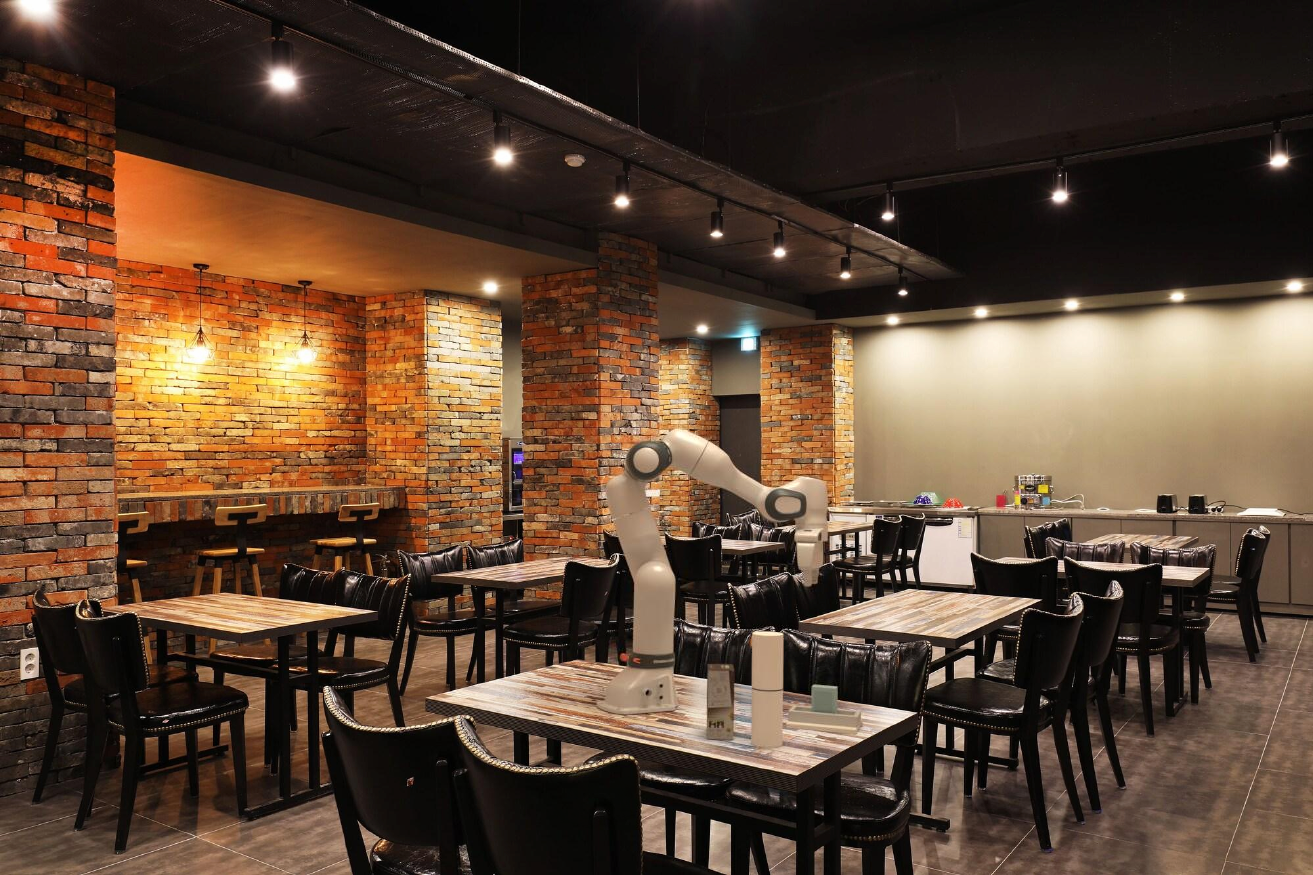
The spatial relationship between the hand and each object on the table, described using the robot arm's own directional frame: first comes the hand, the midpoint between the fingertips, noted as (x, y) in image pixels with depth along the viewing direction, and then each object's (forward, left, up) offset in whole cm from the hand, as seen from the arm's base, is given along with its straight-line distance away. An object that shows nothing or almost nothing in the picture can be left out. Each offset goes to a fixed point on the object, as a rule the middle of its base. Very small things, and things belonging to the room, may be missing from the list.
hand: (810, 584), depth 261 cm
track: (-13, -18, -33) cm, 40 cm away
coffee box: (-42, -12, -33) cm, 55 cm away
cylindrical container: (-38, -24, -33) cm, 56 cm away
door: (-13, -18, -32) cm, 39 cm away
